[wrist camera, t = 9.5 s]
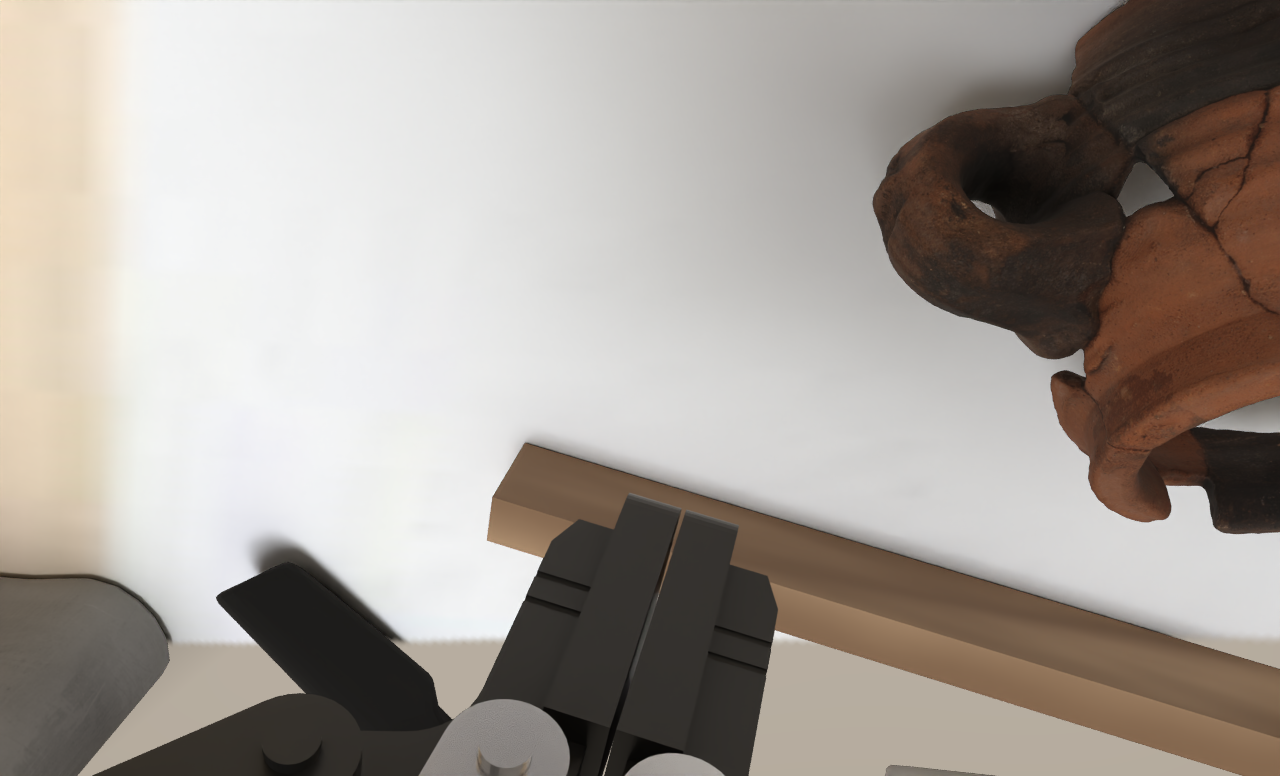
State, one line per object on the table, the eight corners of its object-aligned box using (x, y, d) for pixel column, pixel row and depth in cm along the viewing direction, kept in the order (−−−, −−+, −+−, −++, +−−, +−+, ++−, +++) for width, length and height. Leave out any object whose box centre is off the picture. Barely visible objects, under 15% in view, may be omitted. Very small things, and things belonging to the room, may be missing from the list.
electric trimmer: (311, 512, 33) (255, 577, 30) (597, 829, 37) (570, 910, 35) (239, 551, 35) (181, 616, 32) (520, 849, 39) (489, 927, 37)
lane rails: (634, -313, 19) (597, -320, 17) (2159, 16, 16) (2336, 56, 14) (518, 484, 29) (486, 540, 27) (1434, 763, 27) (1475, 847, 25)
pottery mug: (1608, -75, 18) (1882, 330, 14) (1270, 258, 26) (1378, 574, 22) (918, -145, 17) (989, 262, 13) (794, 221, 25) (813, 541, 21)
